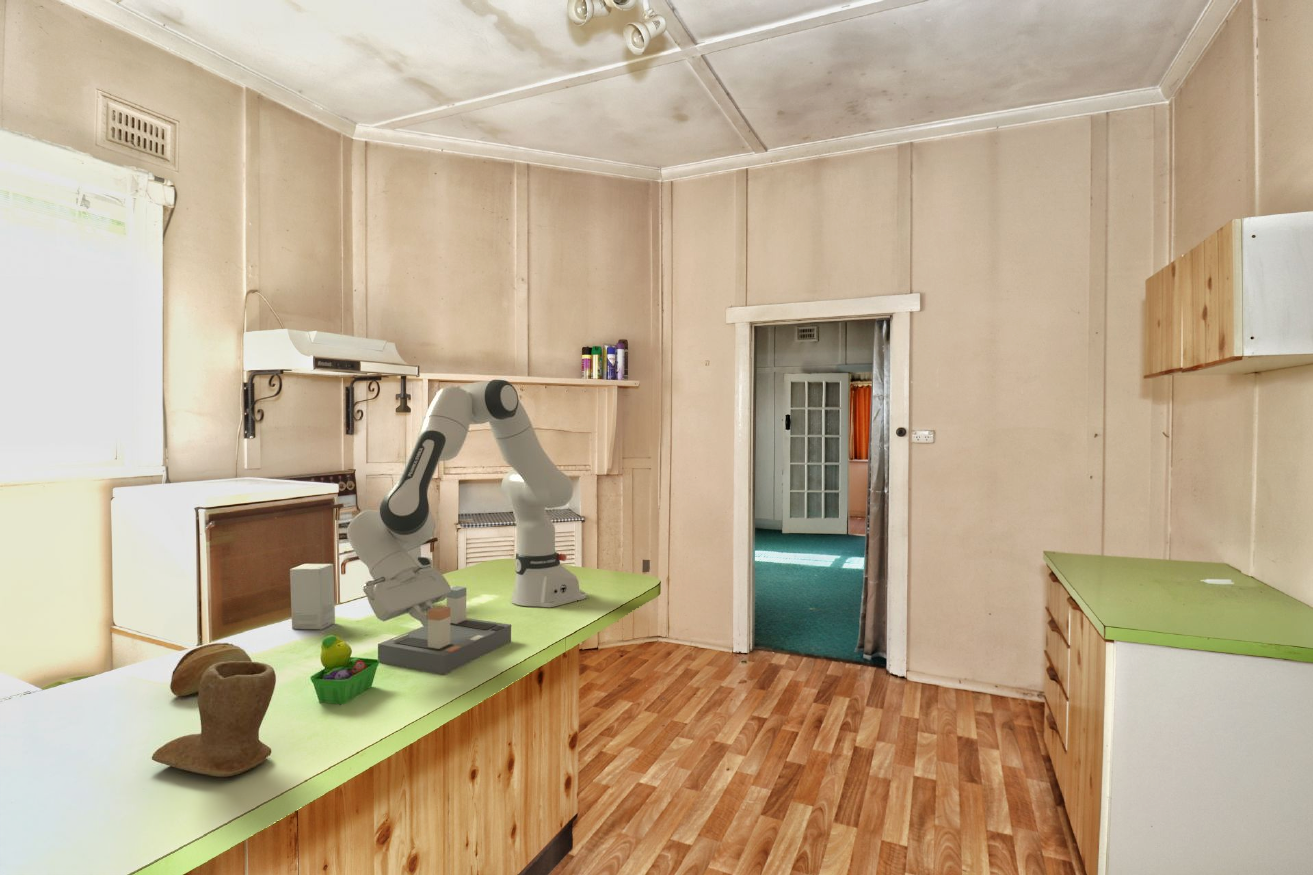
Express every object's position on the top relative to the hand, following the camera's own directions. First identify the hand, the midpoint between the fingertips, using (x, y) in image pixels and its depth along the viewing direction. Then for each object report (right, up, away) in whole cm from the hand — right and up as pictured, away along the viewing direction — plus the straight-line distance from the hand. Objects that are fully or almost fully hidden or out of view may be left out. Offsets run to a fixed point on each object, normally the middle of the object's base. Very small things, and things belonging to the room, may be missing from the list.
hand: (431, 622), depth 146 cm
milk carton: (-23, -8, +46) cm, 53 cm away
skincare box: (-39, -8, +26) cm, 47 cm away
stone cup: (-18, -10, -43) cm, 47 cm away
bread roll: (-39, -9, -14) cm, 42 cm away
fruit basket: (-11, -9, -16) cm, 22 cm away
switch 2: (0, -4, +17) cm, 18 cm away
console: (+1, -9, +8) cm, 12 cm away
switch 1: (+2, -5, -1) cm, 5 cm away
